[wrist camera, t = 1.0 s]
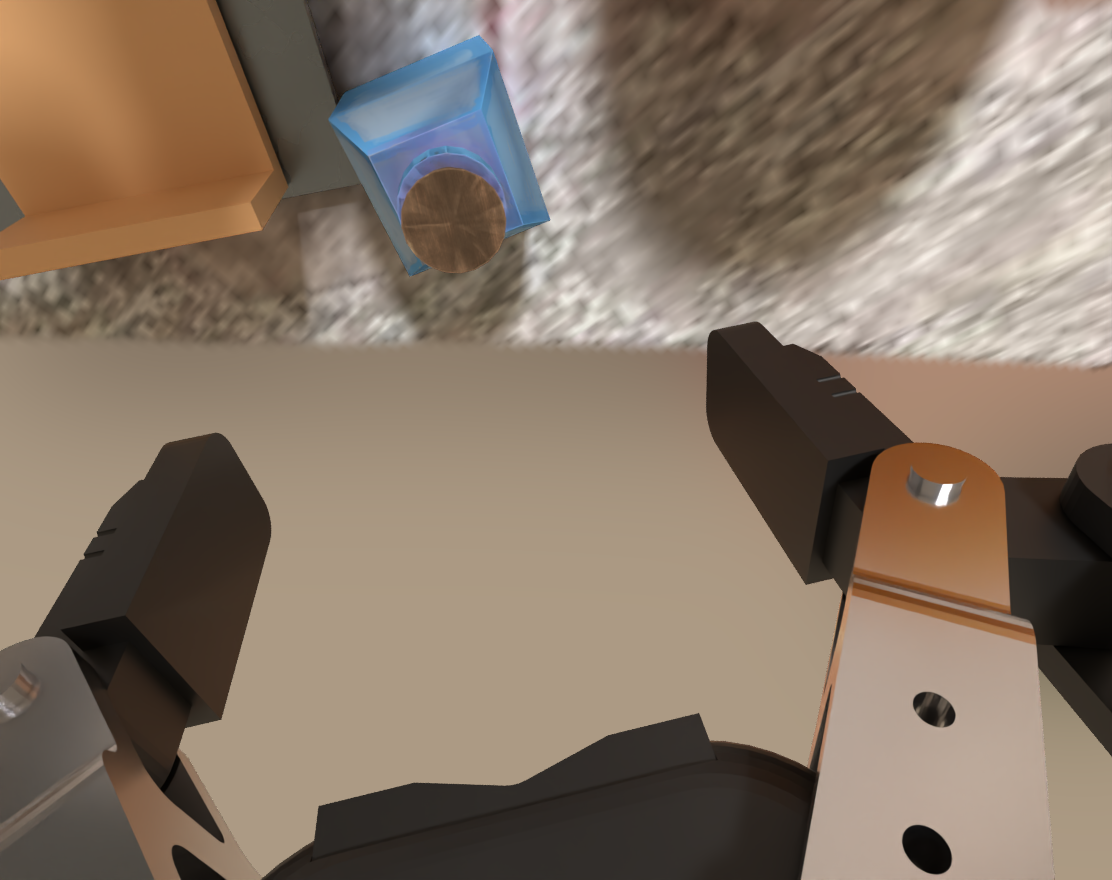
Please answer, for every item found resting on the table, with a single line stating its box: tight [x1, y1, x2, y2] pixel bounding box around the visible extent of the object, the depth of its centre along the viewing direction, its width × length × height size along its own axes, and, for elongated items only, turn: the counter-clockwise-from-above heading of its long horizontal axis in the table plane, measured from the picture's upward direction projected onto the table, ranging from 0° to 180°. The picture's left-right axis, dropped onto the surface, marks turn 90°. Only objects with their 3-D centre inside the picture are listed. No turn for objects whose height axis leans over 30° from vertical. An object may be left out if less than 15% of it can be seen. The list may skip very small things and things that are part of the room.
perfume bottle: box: [328, 35, 550, 276], centre depth 23 cm, size 6×6×12 cm
